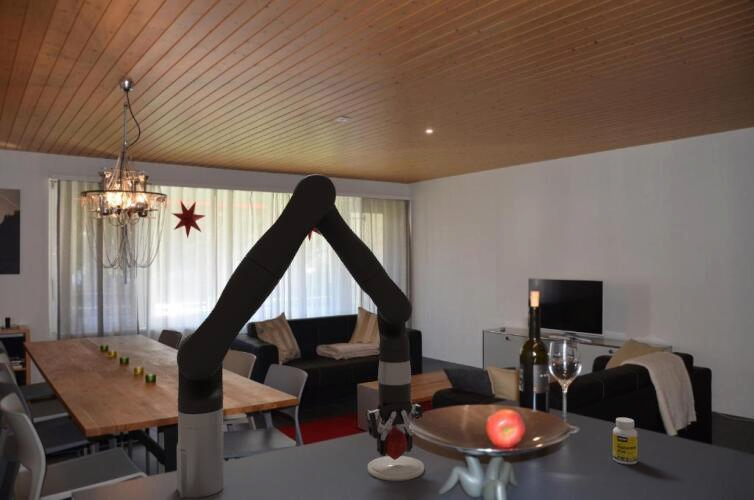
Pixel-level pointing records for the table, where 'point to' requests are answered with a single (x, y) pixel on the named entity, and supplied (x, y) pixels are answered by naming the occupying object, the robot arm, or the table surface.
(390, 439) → the onion
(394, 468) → the saucer
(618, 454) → the supplement bottle
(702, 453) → the table surface
